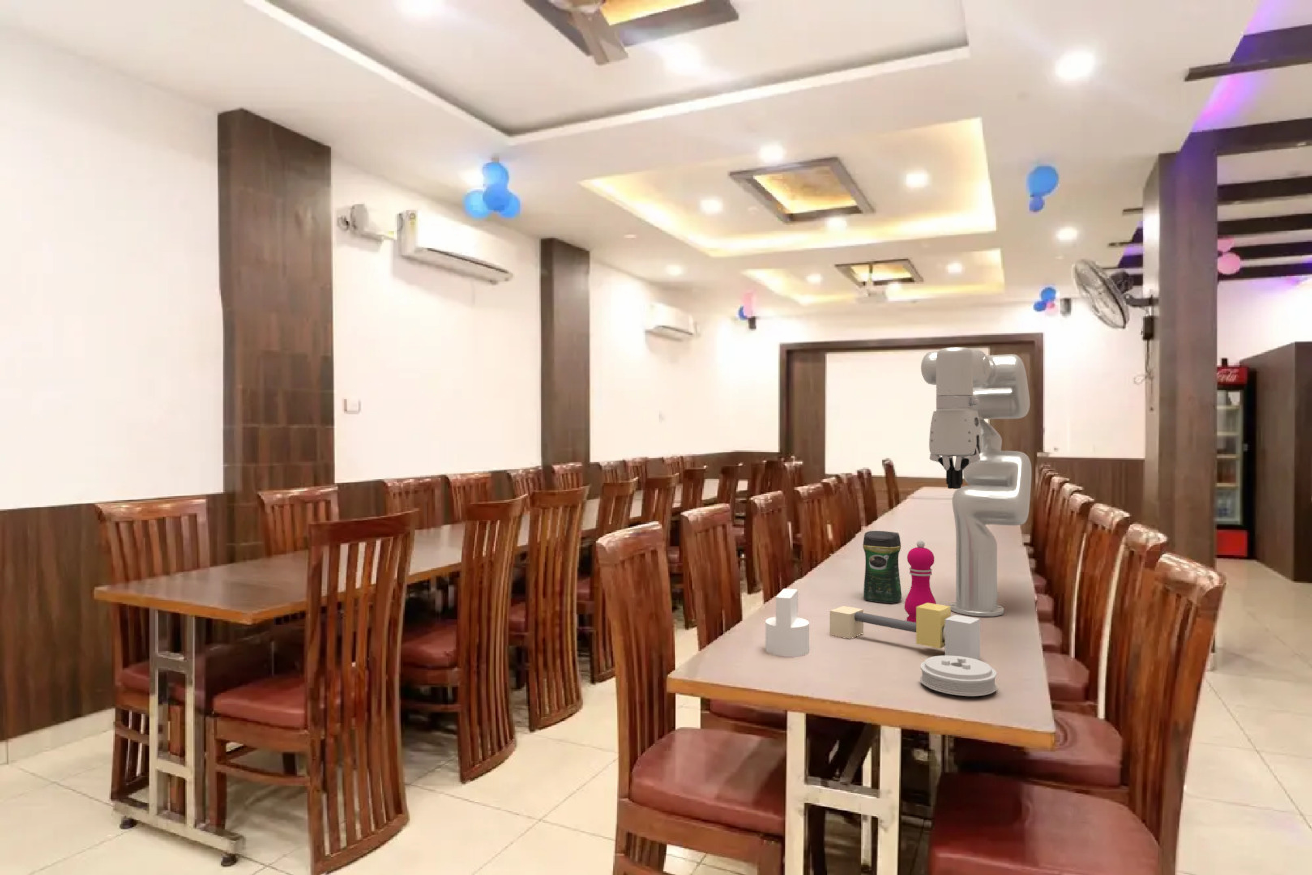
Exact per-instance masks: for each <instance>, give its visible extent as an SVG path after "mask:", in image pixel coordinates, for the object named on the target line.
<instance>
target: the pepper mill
mask: <svg viewBox="0 0 1312 875" xmlns="http://www.w3.org/2000/svg"><path fill="white" fill-rule="evenodd" d="M925 545H926V544H925V542H924V541H923V540H918V541H917V542H916V547H913V548H911V549H910V550H909V551H908V553H907V555H906V556H907V557H906V560H907V563H908V564H909V566H910V567H909V573H908V574H910V575H911V585H910V590H909V592H908V593H907V596H906V597H905V599H904V600H905V601H904V606H903V607H904V608H903V609H904V610H905V612H906V613H907V615H908V616H907V617H906V621H909V622H915V623H916V607H918V606H920V605H923V604H925V603H932V604H937V601H936V599H935V596H934V595H933V592H932V589H931V582H930V580H931V576H932V575H933V573H932V571H933V569H932V568H931V567H932V566H933V565H934V564H935V555H934V553H933V551H932V550H930V549H929V548H927V547H925Z"/></svg>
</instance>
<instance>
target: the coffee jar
mask: <svg viewBox="0 0 1312 875" xmlns="http://www.w3.org/2000/svg"><path fill="white" fill-rule="evenodd" d="M901 542H902V541H901V538H900V533H899V532H893V531H885V530H869V531H867V532H865V533H864V536H863V542H862V548H863V551H864V556H865V566H864V567H865V569H864V581H863V582H864V583H863V592H862V593H863V594H862V595H863V596H862V597H863V598H864V599H865V600H866V601H870V602H873V601H875V603H881V602H882V604H884V603H885V604H890V603H891V604H892V603H898V602H900V601H901V600H902V586H901V579H900V569H899V568H900V567H899V555H900V552H901V549H902V543H901Z"/></svg>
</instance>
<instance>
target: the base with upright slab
mask: <svg viewBox="0 0 1312 875" xmlns="http://www.w3.org/2000/svg"><path fill="white" fill-rule="evenodd" d="M765 651H766V653H768V654H770V655H773V656H777V657H785V658H796V657H798V658H799V657H803V656H805V654H806V655H808V654H809V653H810V622H809V620H807V619H805V618H802V617H799V589H795V588H782V590H781V591H780V592H779V593H778V594H777V595H776V597H775V616H774V617H769V618H767V619H765Z"/></svg>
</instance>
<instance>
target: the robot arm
mask: <svg viewBox="0 0 1312 875" xmlns="http://www.w3.org/2000/svg"><path fill="white" fill-rule="evenodd" d="M920 370H921V376H922V379H923V380H924V381H925V383H926V384H928V385H932V386H935V388H936V390H935V394H936V396H935V402H936V403H935V404H936V407H935V410H933V411H932V412H933V413H932V417H931V419H930V420H931V421H930V429H929V438H928V439H929V441H928V448H929V450H928V451H929V453H930V455H929V459H930V461H933V462H936V463H939V464H940V465H941V466H942V467H943V470H945V471H946V472H945V474H946V475H945V477H946V478H945V481H946V482H945V483H946V485H947V489H953V490H955V491H954V492H953V494H952V498H951V500H952V501H951V503H952V511H953V516H954V517H953V518H954V525H955V561H956V562H955V571H956V572H955V576H956V577H955V588H956V589H955V601H952V602H951V603H949V606H951V612H953V613H956V614H961V615H965V616H970V617H971V616H973V617H982V618H983V617H998V616H1001V615H1003V614H1004V613H1005V608H1004V607H1003V606H1001V605H999V604H998V598H999V596H1000V593H999V592H998V542H997V539H996V537H995V536H994V534H993V533H992V531H991V530H990V529H989V528H988V526H989V525H997V526H1014V527H1015V526H1022V525H1024V524H1025V523H1026V522H1027V520H1028V517H1029V512H1030V501H1031V486H1032V463H1031V460H1030V457H1029V456H1028V455H1027V454H1026V453H1024V452H1022V451H1019V450H1015V451H1014V450H1002V445H1003V438H1002V436H1001V435H1000V433H999V432H998V431H997V430H996V429H995V428H994V426H992V425H991V424H990V423H988V422H987V421H986V420H1015V419H1016V420H1017V419H1023V418H1024V417H1026V416H1027V415H1028V413H1029V411H1030V407H1031V402H1030V401H1031V398H1030V391H1029V384H1028V383H1029V382H1028V376H1027V371H1026V367H1025V364H1024V362H1023V360H1022V358H1021V357H1020V356H1019V355H1017V354H1013V353H1011V354H1009V353H1008V354H991V355H990V354H988V355H986V353H985V352H984V351H982V350H980V349H976V348H973V349H972V348H971V349H970V348H968V347H962V346H961V347H960V346H956V347H955V346H953V347H945V348H941V349H939V350H936V351H935V350H934V351H933V350H932V351H928V352H927V353H926V354H925V355H924V356H923V358H922V360H921V363H920ZM954 457H955V461H954ZM963 479H964V480H963ZM963 482H966V483H967V485H963V484H964V483H963ZM987 525H988V526H987Z"/></svg>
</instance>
